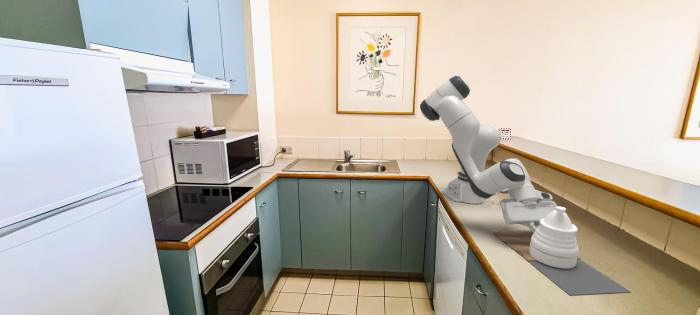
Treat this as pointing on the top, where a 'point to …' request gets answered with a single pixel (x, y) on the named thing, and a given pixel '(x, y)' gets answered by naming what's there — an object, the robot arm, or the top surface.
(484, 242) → the top surface
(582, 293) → the trivet mat
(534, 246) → the honey pot
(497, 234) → the cutting board
